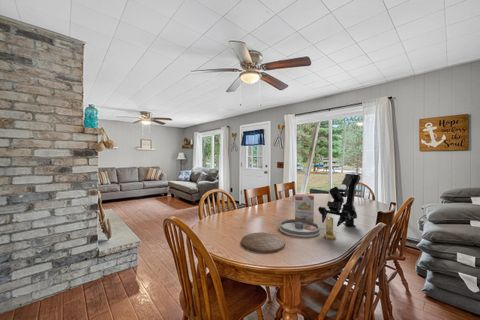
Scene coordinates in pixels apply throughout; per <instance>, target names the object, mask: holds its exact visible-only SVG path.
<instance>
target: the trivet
mask: <svg viewBox="0 0 480 320" xmlns="http://www.w3.org/2000/svg"><path fill="white" fill-rule="evenodd" d="M241 245H242V247H243V248H245V249H246V250H247V251H250V252H251V251H252V252H255V253H261V254H269V253H276V252H279V251H282V250H283V249H284V248H285V247H286V246H285V245H286V242H285V239H284V238H283V237H282V236H279V235H277V234H274V233H271V232H252V233H248V234H245V235H244V236H242V238H241Z"/></svg>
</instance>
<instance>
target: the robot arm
mask: <svg viewBox="0 0 480 320" xmlns="http://www.w3.org/2000/svg"><path fill="white" fill-rule="evenodd" d="M360 180H361V175H360V174H359V173H351V172H350V173H349V172H347V173H345V175H344V178H343V180H342V182H341V184H340V185H338V186H334V187H331V188H330V189H329V191H328V192H329V194H330V196H331V199H332V201H327V203H326V206H327V207H328V209H327V208H326V206H325V207H323V206H319V207H318V209H317V210H318V212H319V214H320V215H321V223H323V224H324V223H325V222H326V218H327V215H328V214H331V215H336V216H339V218H338V221H337V223H336V226H337V227H339V226H341V225H342V224H343V225H344V226H345V227H349V228H350V227H354V228H355V227H357V226H356V225H355V219H358V214H357V211H356V207H355V205H354V202H355V196H356V190H357V189H356V188H357V185H358V184H360ZM344 198H346V200H344ZM345 201H346V202H345Z"/></svg>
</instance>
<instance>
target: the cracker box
mask: <svg viewBox="0 0 480 320" xmlns="http://www.w3.org/2000/svg"><path fill="white" fill-rule="evenodd" d="M294 195H295V196H294V199H295V200H294V219H299V220H306V221H310V222H314V221H315V219H314V214H315V211H314V210H315V208H314V207H315V204H314V203H315V196H314V195H313V194H305V193H304V194H302V193H295V194H294ZM314 223H315V222H314Z"/></svg>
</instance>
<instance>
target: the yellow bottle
mask: <svg viewBox="0 0 480 320" xmlns="http://www.w3.org/2000/svg"><path fill="white" fill-rule="evenodd" d="M336 237H337V236H336V234H335V233H334V218H333V217H329V216H326V219H325V232H323V238H324V239H326V240H336Z"/></svg>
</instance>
